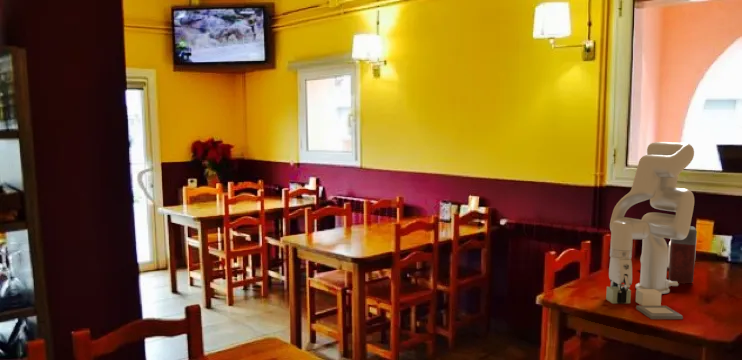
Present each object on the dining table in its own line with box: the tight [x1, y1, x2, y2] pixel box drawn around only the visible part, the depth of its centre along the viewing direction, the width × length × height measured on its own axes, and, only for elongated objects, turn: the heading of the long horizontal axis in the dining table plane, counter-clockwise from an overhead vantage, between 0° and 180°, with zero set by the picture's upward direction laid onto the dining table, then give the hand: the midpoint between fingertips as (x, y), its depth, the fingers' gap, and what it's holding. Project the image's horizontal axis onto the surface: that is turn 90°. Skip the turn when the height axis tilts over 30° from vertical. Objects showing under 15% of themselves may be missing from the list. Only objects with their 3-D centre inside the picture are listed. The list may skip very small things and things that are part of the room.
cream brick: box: [635, 288, 663, 306], centre depth 218 cm, size 7×5×5 cm
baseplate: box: [635, 305, 684, 320], centre depth 207 cm, size 11×11×1 cm
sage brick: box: [605, 286, 632, 304], centre depth 221 cm, size 7×5×5 cm
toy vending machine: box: [667, 225, 698, 284], centre depth 251 cm, size 9×11×28 cm
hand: (618, 299), depth 221 cm, fingers closed on sage brick, 5 cm apart
